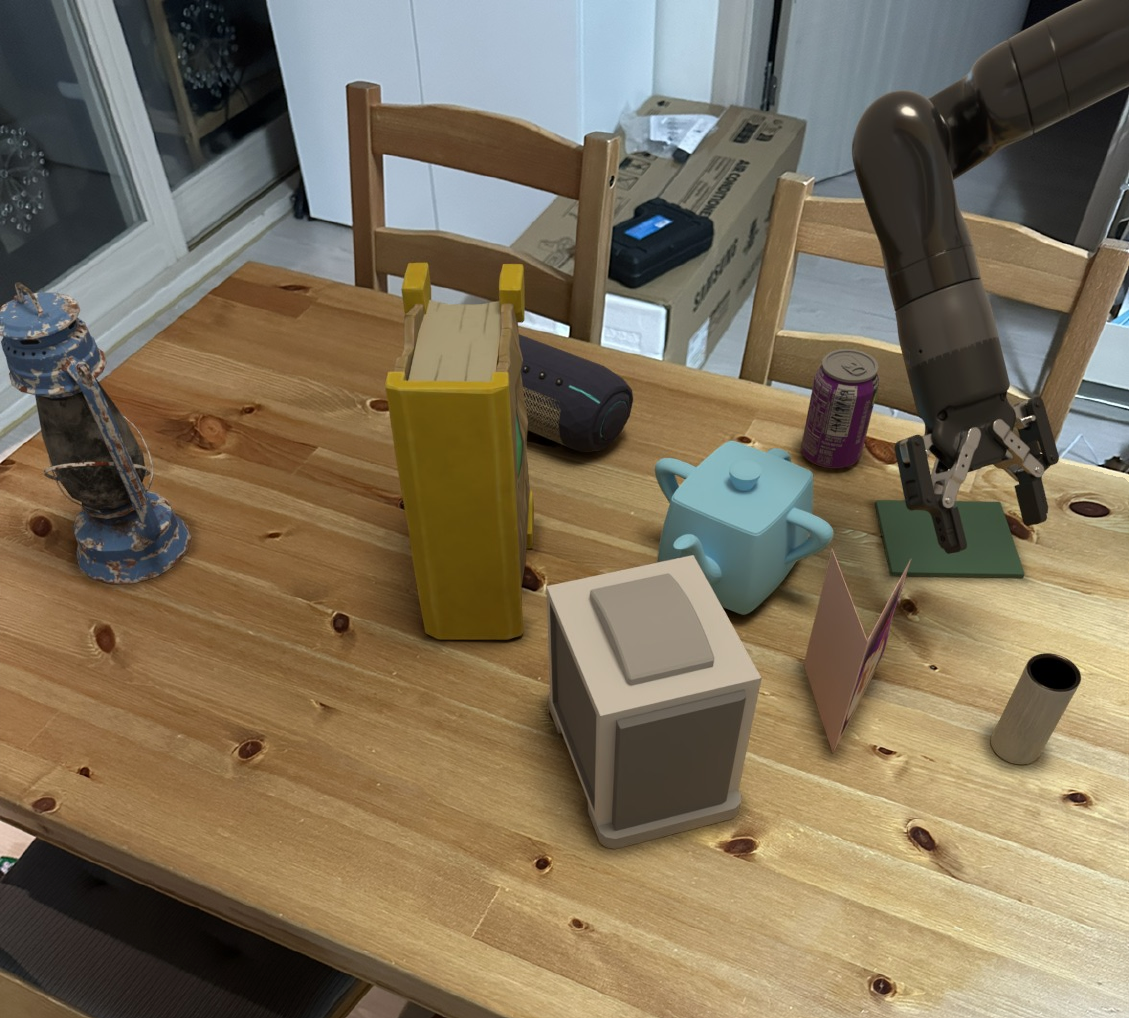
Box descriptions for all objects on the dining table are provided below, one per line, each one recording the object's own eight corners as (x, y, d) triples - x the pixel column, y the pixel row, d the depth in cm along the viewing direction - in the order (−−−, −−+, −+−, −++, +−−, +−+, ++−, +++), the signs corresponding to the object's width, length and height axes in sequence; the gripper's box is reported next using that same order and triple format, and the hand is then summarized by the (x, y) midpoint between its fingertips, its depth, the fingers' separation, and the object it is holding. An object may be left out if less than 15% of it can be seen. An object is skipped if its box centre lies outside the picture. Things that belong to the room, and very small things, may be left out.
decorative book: (525, 644, 108) (510, 380, 84) (418, 642, 108) (372, 378, 84) (537, 517, 120) (527, 255, 96) (440, 515, 120) (406, 254, 97)
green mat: (998, 505, 120) (1000, 501, 120) (1023, 578, 113) (1025, 574, 112) (874, 504, 121) (875, 499, 120) (890, 576, 113) (892, 571, 113)
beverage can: (872, 459, 126) (896, 368, 116) (828, 481, 123) (849, 390, 114) (831, 430, 129) (851, 339, 120) (787, 450, 127) (804, 359, 117)
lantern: (48, 542, 118) (-85, 283, 95) (142, 490, 124) (38, 233, 100) (125, 607, 112) (3, 346, 88) (221, 549, 117) (130, 289, 94)
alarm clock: (744, 815, 94) (774, 678, 80) (603, 852, 92) (608, 717, 78) (672, 670, 105) (688, 525, 91) (545, 699, 103) (540, 556, 89)
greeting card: (841, 757, 98) (877, 644, 86) (767, 727, 101) (792, 614, 89) (882, 677, 104) (920, 561, 93) (811, 650, 107) (840, 535, 95)
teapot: (646, 524, 119) (652, 421, 108) (790, 516, 119) (810, 413, 109) (665, 641, 108) (674, 539, 97) (825, 632, 108) (851, 529, 98)
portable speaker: (428, 408, 133) (419, 334, 125) (477, 370, 138) (471, 297, 130) (594, 478, 124) (595, 403, 116) (640, 435, 129) (643, 361, 121)
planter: (985, 726, 100) (1021, 651, 92) (1033, 727, 100) (1073, 652, 92) (996, 764, 98) (1033, 691, 89) (1045, 765, 97) (1088, 692, 89)
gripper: (907, 358, 84) (958, 557, 86) (1050, 316, 87) (1094, 508, 90) (855, 383, 91) (903, 566, 93) (989, 343, 94) (1031, 520, 97)
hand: (997, 537), depth 92 cm, fingers open, 8 cm apart
